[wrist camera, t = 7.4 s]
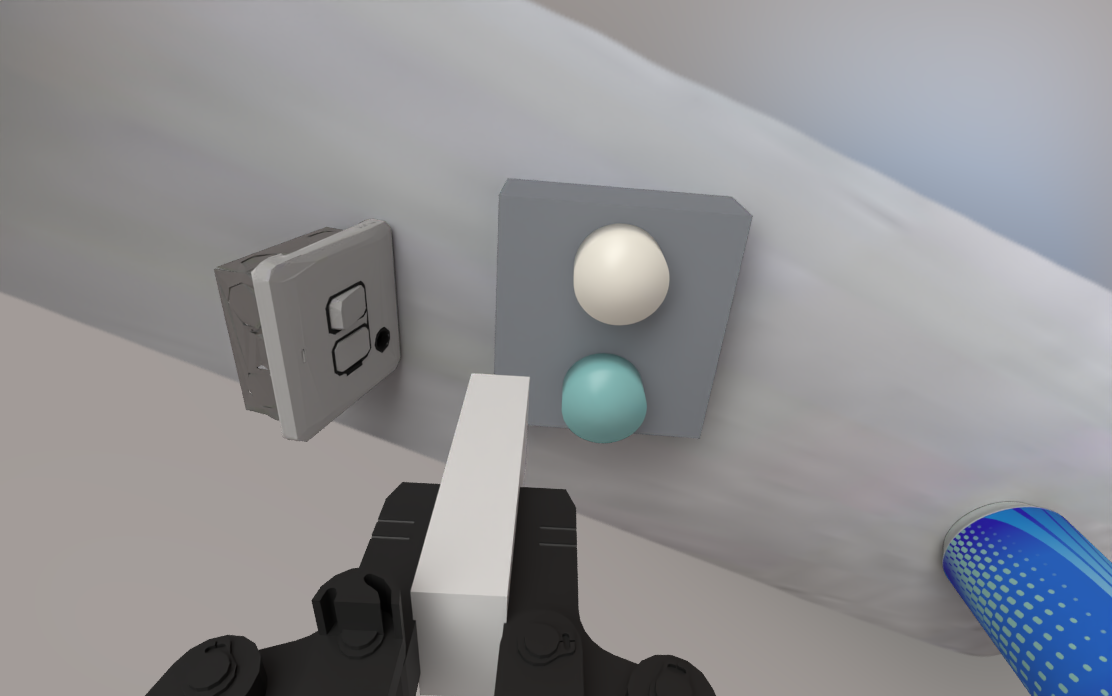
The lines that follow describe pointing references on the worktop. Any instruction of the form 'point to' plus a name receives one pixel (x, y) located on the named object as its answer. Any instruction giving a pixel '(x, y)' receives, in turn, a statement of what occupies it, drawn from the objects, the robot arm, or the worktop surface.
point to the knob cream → (620, 274)
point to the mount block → (571, 333)
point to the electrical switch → (313, 323)
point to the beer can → (1036, 595)
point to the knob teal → (603, 398)
